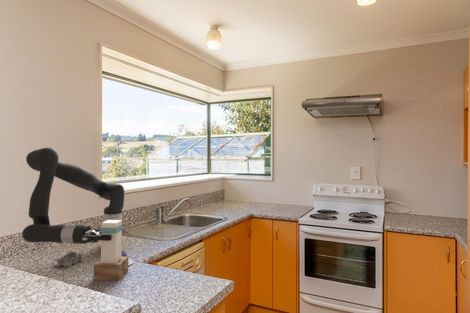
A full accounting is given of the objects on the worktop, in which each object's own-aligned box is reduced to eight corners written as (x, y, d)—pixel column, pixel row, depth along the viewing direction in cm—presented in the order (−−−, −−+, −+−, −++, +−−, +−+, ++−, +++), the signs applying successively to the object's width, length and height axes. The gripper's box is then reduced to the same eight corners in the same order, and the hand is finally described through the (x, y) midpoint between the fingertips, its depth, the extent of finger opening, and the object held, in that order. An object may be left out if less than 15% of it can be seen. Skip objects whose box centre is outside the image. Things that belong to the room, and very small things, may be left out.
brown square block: (104, 270, 132) (104, 256, 132) (128, 270, 132) (128, 256, 132) (93, 279, 122) (93, 264, 122) (118, 280, 122) (119, 265, 122)
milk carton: (107, 257, 130) (107, 219, 130) (121, 258, 130) (122, 220, 130) (100, 262, 124) (101, 222, 124) (115, 263, 124) (116, 223, 124)
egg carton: (72, 258, 147) (72, 249, 147) (85, 260, 145) (85, 251, 145) (53, 266, 136) (53, 256, 136) (67, 268, 134) (67, 258, 134)
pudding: (98, 267, 136) (98, 255, 136) (117, 258, 147) (117, 247, 147) (120, 271, 132) (121, 258, 132) (138, 262, 143) (138, 250, 143)
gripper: (66, 229, 120) (108, 230, 120) (85, 221, 134) (122, 222, 134) (66, 248, 120) (108, 249, 120) (84, 238, 134) (122, 239, 134)
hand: (115, 234), depth 127 cm, fingers open, 8 cm apart
